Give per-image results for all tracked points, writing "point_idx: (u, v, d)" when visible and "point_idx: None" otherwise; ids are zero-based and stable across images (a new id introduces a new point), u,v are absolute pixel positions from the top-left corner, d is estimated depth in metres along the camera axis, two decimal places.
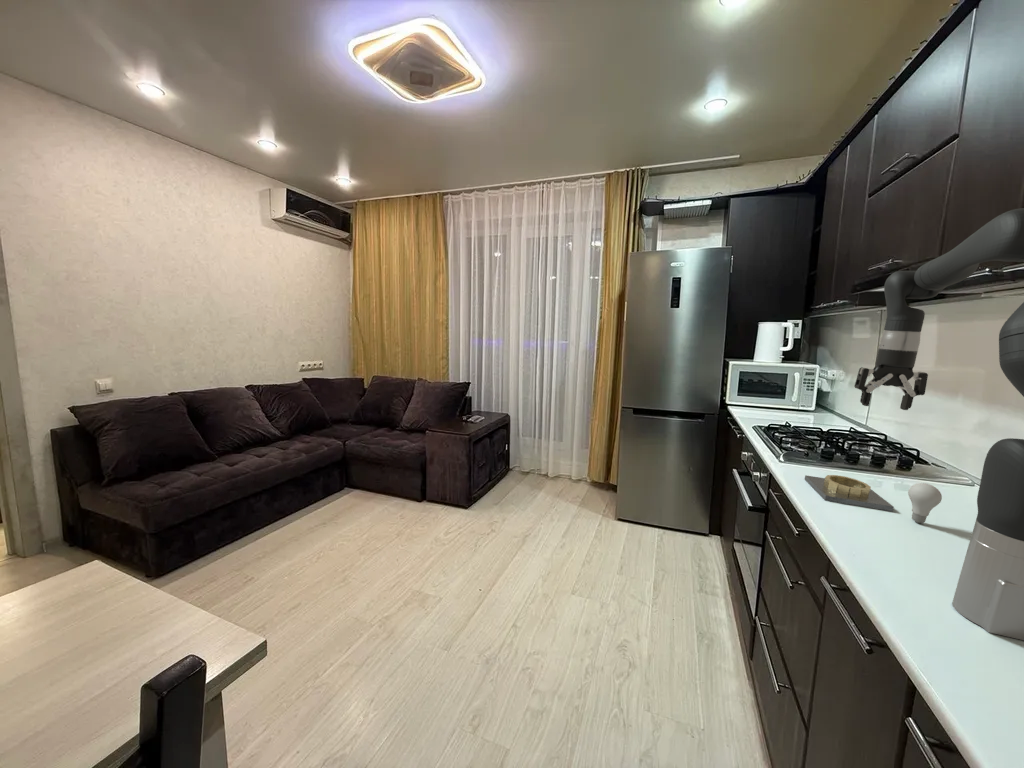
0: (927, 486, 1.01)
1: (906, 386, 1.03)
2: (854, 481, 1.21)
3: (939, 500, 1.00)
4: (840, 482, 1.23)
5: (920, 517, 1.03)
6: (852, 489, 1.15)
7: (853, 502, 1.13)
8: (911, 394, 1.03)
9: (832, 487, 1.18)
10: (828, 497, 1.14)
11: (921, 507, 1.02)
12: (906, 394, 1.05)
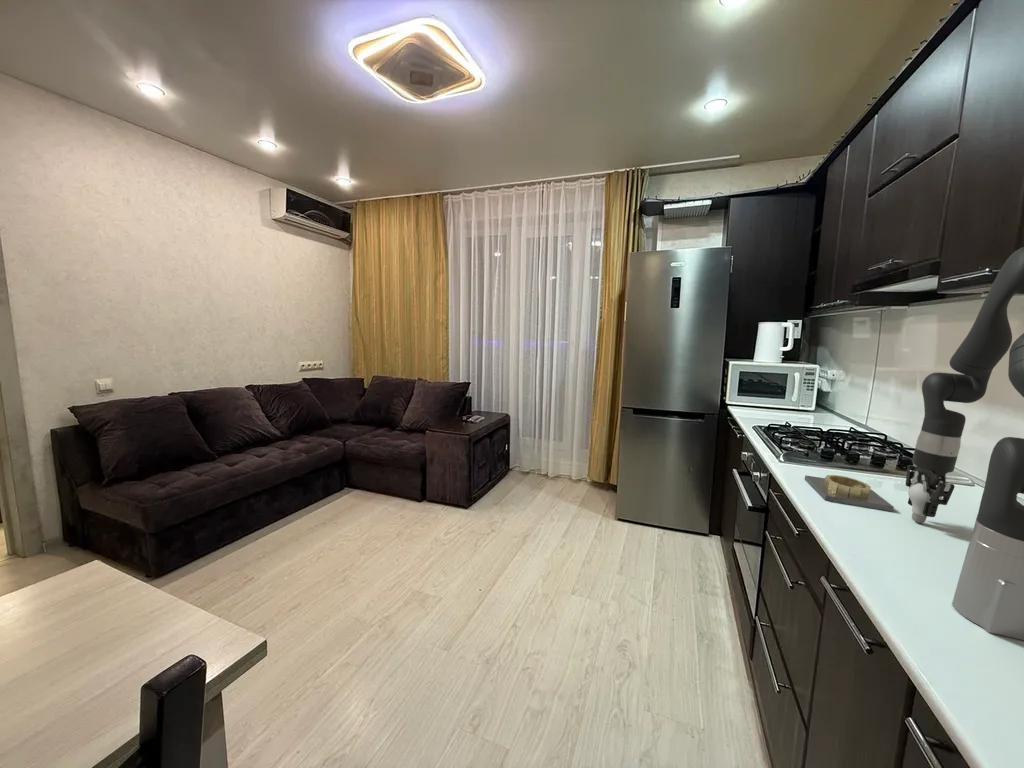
0: None
1: None
2: (854, 481, 1.21)
3: None
4: (840, 482, 1.23)
5: (920, 518, 1.03)
6: (852, 489, 1.15)
7: (853, 502, 1.13)
8: None
9: (832, 487, 1.18)
10: (828, 497, 1.14)
11: (921, 507, 1.02)
12: None
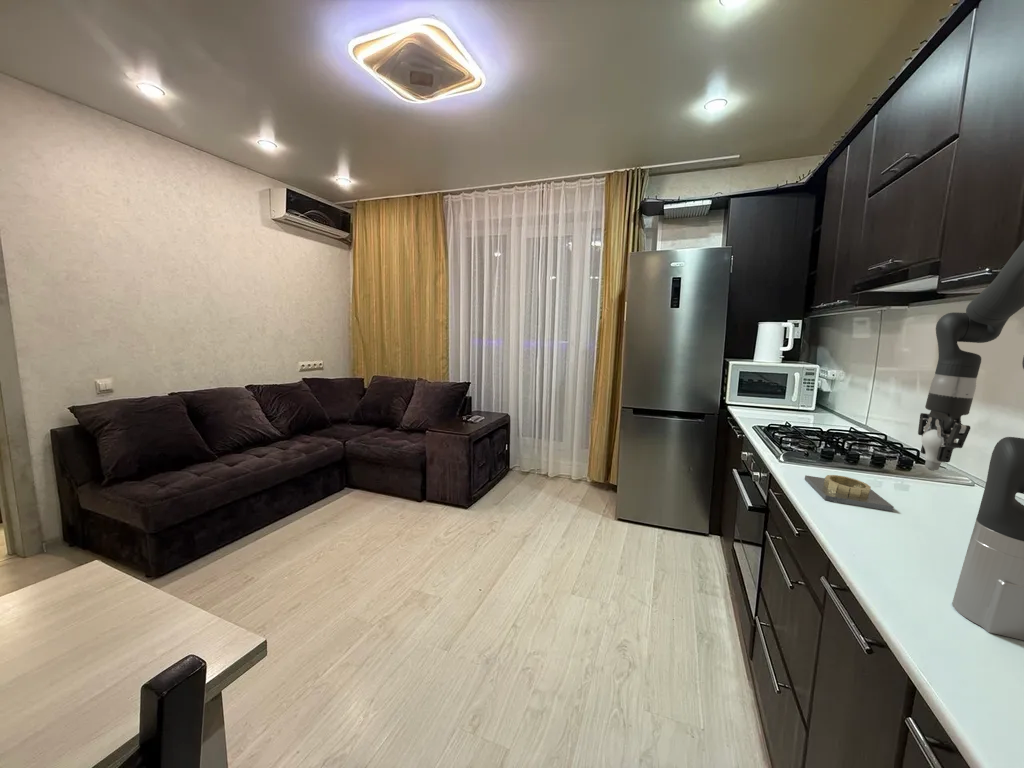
0: None
1: None
2: (854, 481, 1.21)
3: None
4: (840, 482, 1.23)
5: (934, 464, 1.00)
6: (852, 489, 1.15)
7: (853, 502, 1.13)
8: None
9: (832, 487, 1.18)
10: (828, 497, 1.14)
11: (935, 453, 0.99)
12: None
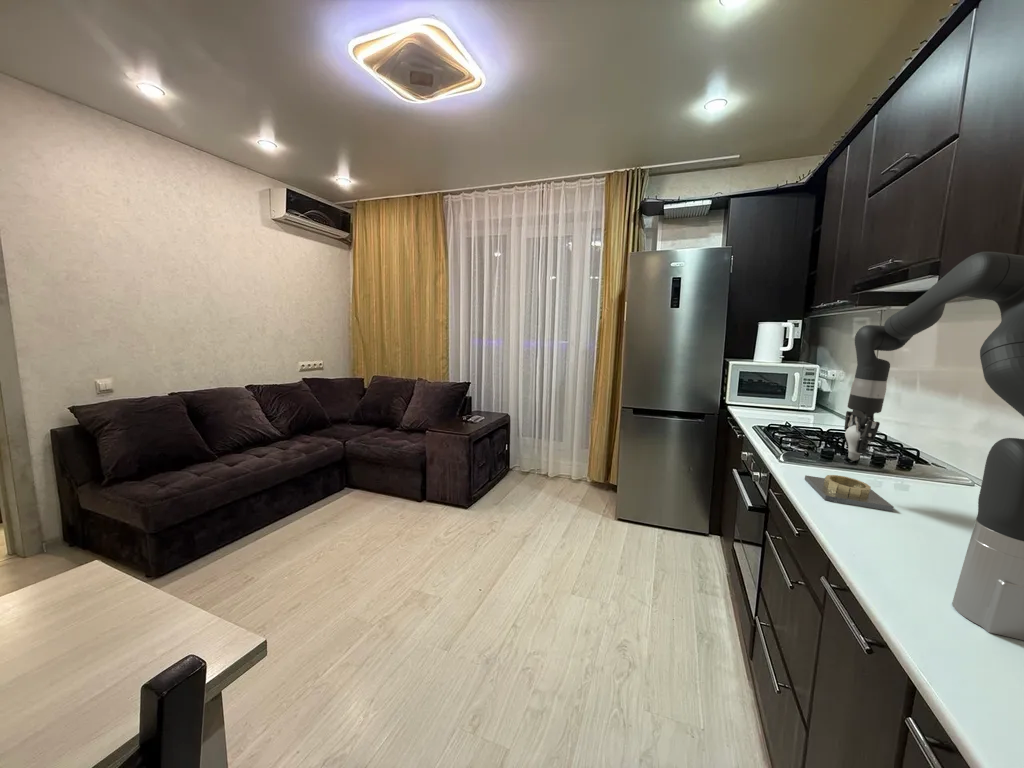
0: None
1: None
2: (854, 481, 1.21)
3: None
4: (840, 482, 1.23)
5: (854, 455, 1.16)
6: (852, 489, 1.15)
7: (853, 502, 1.13)
8: None
9: (832, 487, 1.18)
10: (828, 497, 1.14)
11: (855, 445, 1.15)
12: None
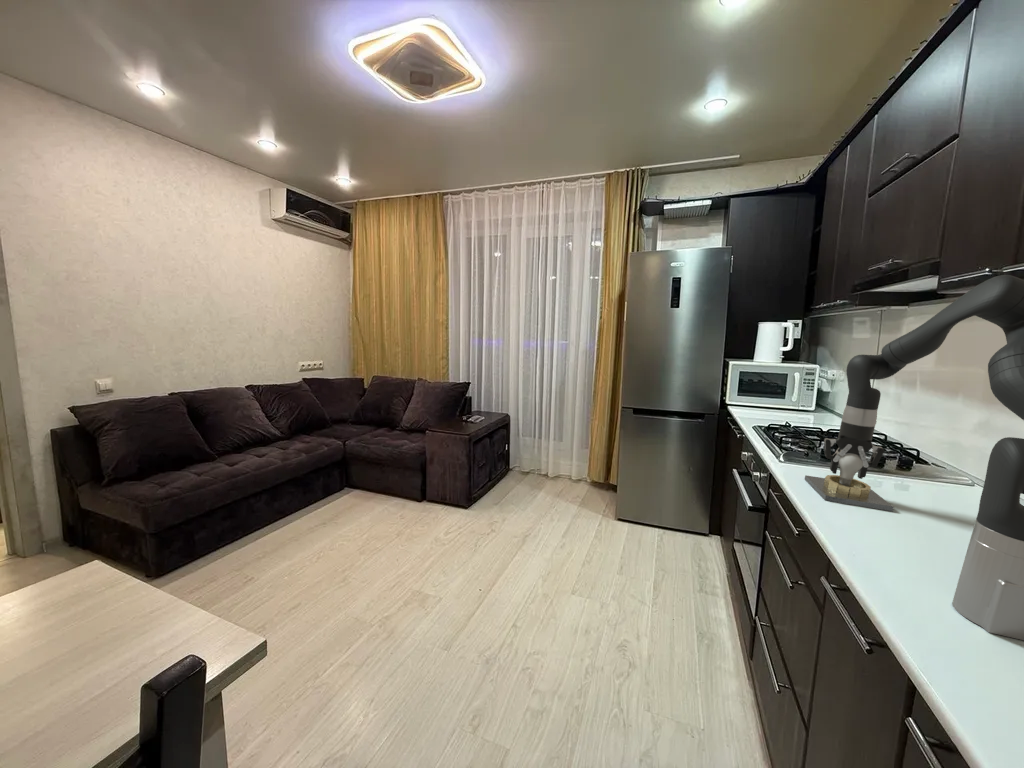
0: None
1: None
2: (854, 481, 1.21)
3: None
4: None
5: None
6: (852, 489, 1.15)
7: (853, 502, 1.13)
8: None
9: (832, 487, 1.18)
10: (828, 497, 1.14)
11: (855, 473, 1.17)
12: None
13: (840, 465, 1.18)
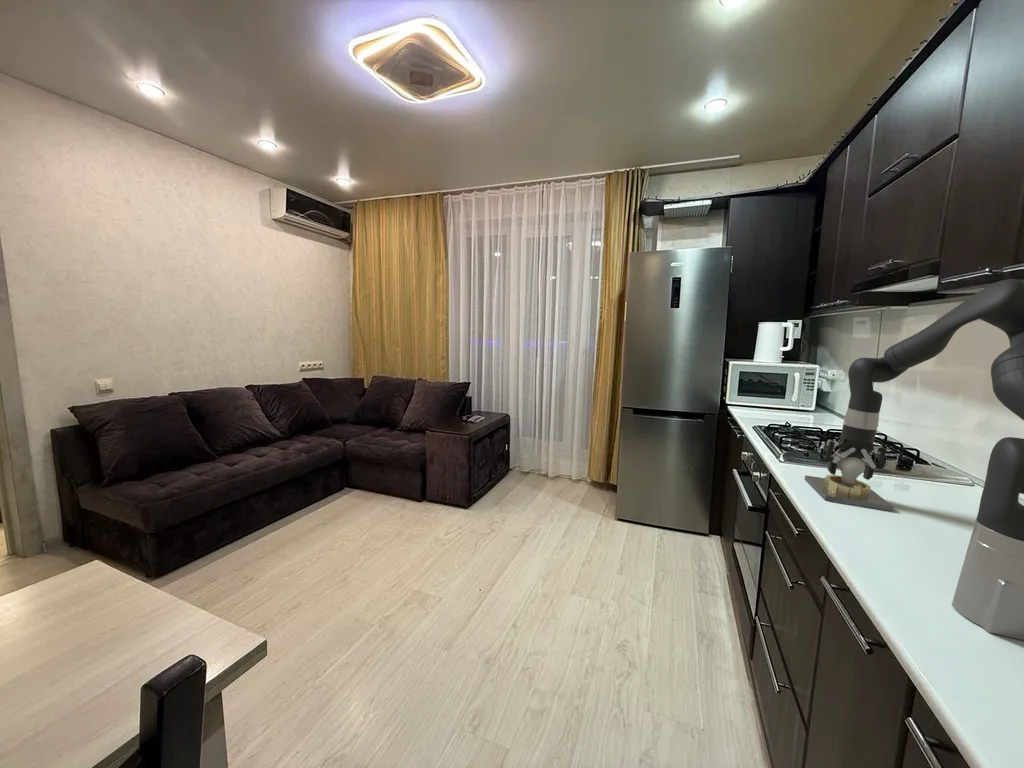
0: None
1: None
2: None
3: None
4: (840, 482, 1.23)
5: None
6: (852, 489, 1.15)
7: (853, 502, 1.13)
8: None
9: (832, 487, 1.18)
10: (828, 497, 1.14)
11: None
12: None
13: (843, 470, 1.18)
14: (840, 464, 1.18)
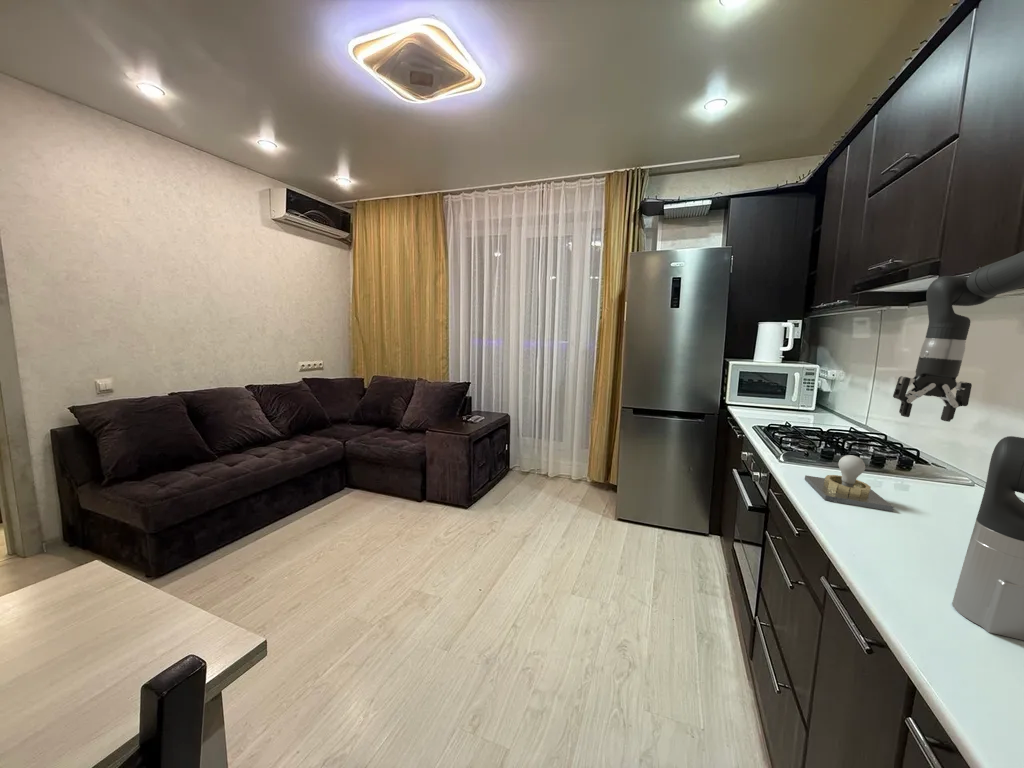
0: (858, 457, 1.17)
1: None
2: None
3: None
4: (840, 482, 1.23)
5: None
6: (852, 489, 1.15)
7: (853, 502, 1.13)
8: None
9: (832, 487, 1.18)
10: (828, 497, 1.14)
11: None
12: None
13: (843, 470, 1.18)
14: (840, 464, 1.18)
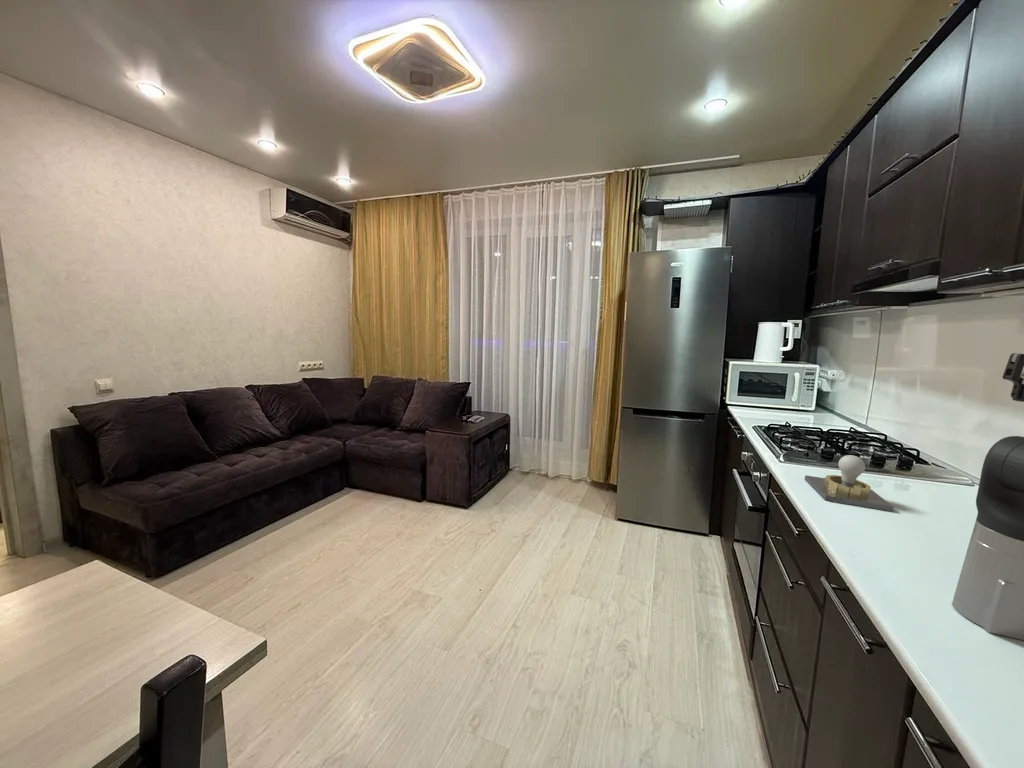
0: (858, 457, 1.17)
1: None
2: None
3: None
4: (840, 482, 1.23)
5: None
6: (852, 489, 1.15)
7: (853, 502, 1.13)
8: None
9: (832, 487, 1.18)
10: (828, 497, 1.14)
11: None
12: None
13: (843, 470, 1.18)
14: (840, 464, 1.18)
